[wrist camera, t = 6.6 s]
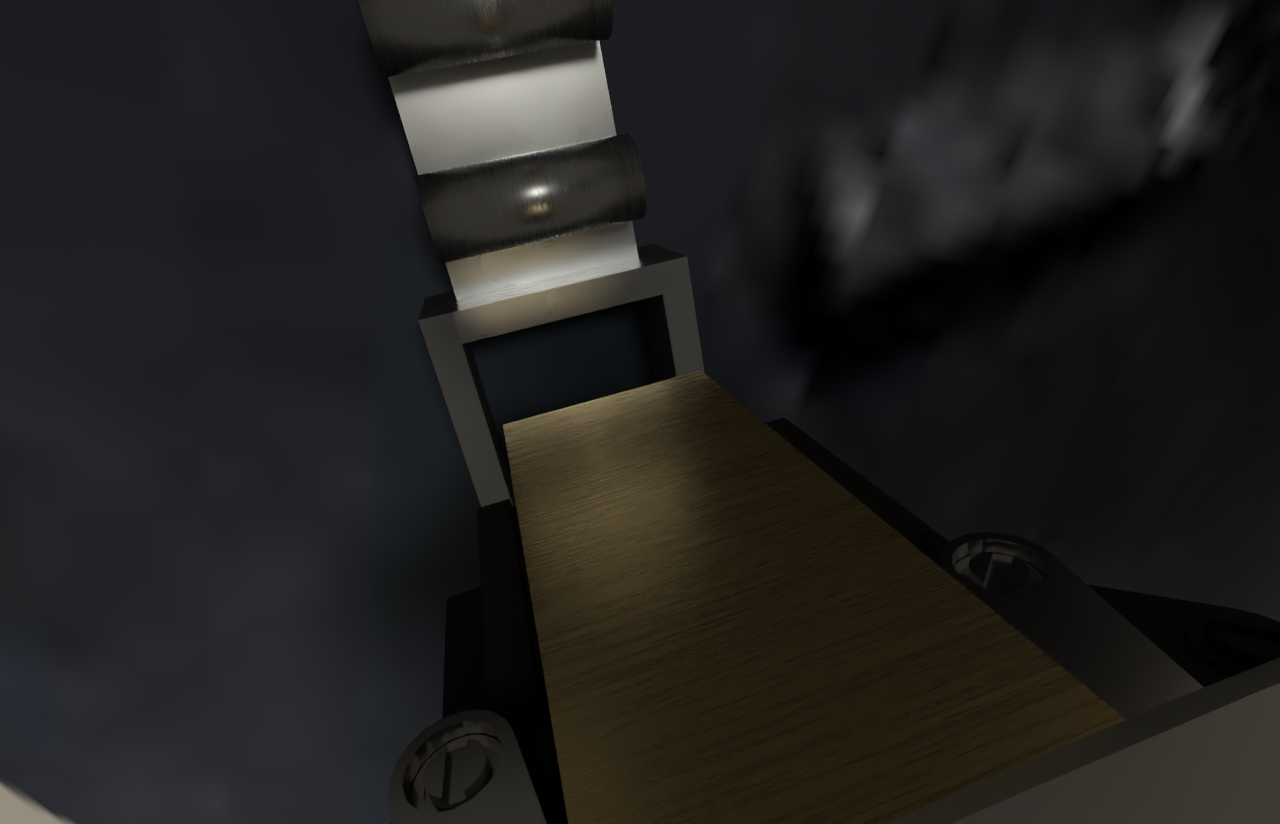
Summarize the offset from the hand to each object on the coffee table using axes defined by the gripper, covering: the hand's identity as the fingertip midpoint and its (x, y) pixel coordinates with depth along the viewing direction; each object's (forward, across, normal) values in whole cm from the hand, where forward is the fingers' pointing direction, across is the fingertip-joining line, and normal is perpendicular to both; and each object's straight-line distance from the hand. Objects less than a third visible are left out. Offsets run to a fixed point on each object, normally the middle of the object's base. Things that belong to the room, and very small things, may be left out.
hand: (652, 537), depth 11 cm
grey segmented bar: (+9, 0, 0) cm, 9 cm away
